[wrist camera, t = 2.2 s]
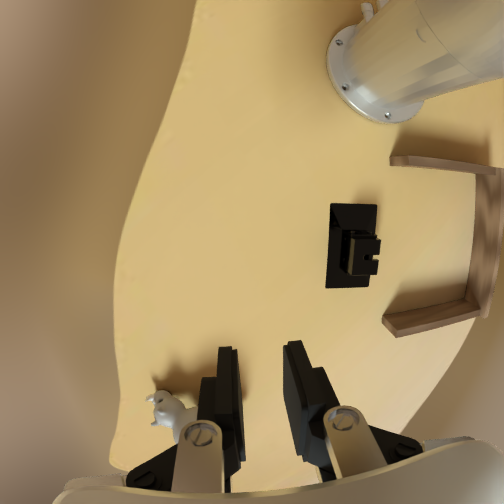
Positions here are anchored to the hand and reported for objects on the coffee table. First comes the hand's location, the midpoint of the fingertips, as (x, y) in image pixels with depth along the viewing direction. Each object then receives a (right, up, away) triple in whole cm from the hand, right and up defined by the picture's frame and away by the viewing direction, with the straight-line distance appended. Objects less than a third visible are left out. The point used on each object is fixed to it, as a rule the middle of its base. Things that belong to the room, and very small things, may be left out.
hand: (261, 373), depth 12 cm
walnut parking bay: (+23, +6, +20) cm, 31 cm away
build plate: (+10, +6, +20) cm, 23 cm away
